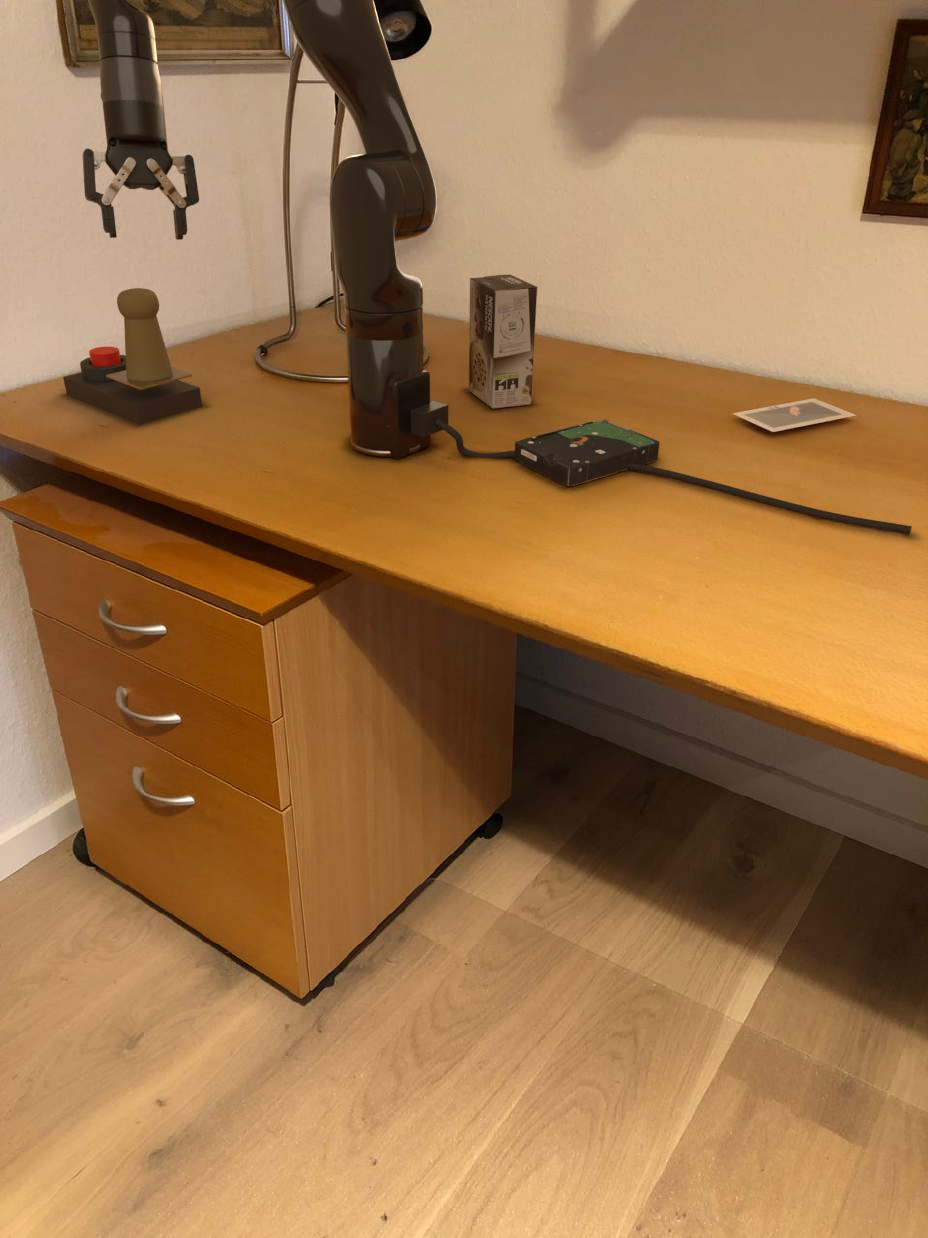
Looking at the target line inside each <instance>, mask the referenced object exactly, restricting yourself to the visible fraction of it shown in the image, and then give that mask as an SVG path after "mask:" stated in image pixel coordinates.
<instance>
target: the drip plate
mask: <svg viewBox="0 0 928 1238" xmlns="http://www.w3.org/2000/svg"><path fill="white" fill-rule="evenodd" d="M171 368H172V371H173V373H172V375H170V376H169V377H166V378H163V379H158V380H151V381H138V380H132V379H129V378H128V377H127V375H126V370H125V371H121V372H117V373H113V374H109V375H106V377H107V378H110V379H113V380H115V381H118V382H121V383H123V384H126V385H129V386H131V387H134V388H137V389H140V390H142V389H146V388H150V387H153V386H157V385H161V384H165V383H168V382H172V381H176V380H179V381H180V380H183V379H187V378H190V377H192V376H193V375H192V373H189V372H187V371H185V370H181V369H177V368H175V367H172V366H171Z"/></svg>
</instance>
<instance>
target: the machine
mask: <svg viewBox="0 0 928 1238" xmlns="http://www.w3.org/2000/svg"><path fill="white" fill-rule="evenodd" d="M120 358H121V363H119V364H116V365H112V366H93V365H91V360H90V357H86V358H84V359H83V360H80V362H79V366H80V371H81V372H76V373H73V374H68V375H64V376H62V380H63V383H64V388H65V393H66V396H68V397H71V398H73V399H76V400H78V401H80V402H82V403H85V404H88V405H90V406H92V407H95V408H97V409H100V410H102V411H104V412H107V413H110V414H112V415H115V416H117V417H119V418H122V419H124V420H126V421H128V422H132V423H134V424H137V425H139V426H140V425H144V424H147V423H151V422H153V421H157V420H161V419H163V418H167V417H170V416H174V415H178V414H181V413H184V412H188V411H191V410H195V409H198V408H201V407H203V401H202V395H201V388H200V387H199V386H196V385H193V384H190V383H187V382H185V381H182V380H180V379H179V380H176V381H172V382H168V383H165V384H161V385H157V386H153V387H150V388H146V389H142V390H140V389H137V388H134V387H131V386H129V385H126V384H123V383H121V382H118V381H115V380H113V379H110V378H107V377H106V375H109V374H113V373H117V372H121V371H125V370H126V354H125V355H124V354H120Z"/></svg>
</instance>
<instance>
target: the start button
mask: <svg viewBox="0 0 928 1238" xmlns="http://www.w3.org/2000/svg"><path fill="white" fill-rule="evenodd" d="M88 355H89V358H90V360H91V365H93V366H112V365H116V364H119V363H121V358H120V355H121V353H120V348H118V347H115V346H97V347H94V348H91V349H89V351H88Z"/></svg>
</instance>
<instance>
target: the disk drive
mask: <svg viewBox="0 0 928 1238" xmlns="http://www.w3.org/2000/svg"><path fill="white" fill-rule="evenodd" d="M660 443H661V442H660V441H659V440H657V439H654V438H651V437H649V436H648V435H644V434H642V433H640V432H637V431H636V430H633V429H625V428H624V427H622V426H618V425H617V424H613V423H611V422H610V421H609V420H607V419H604V420H596V421H587V422H584V423H581V424H577V425H574V426H569V427H565V428H561V429H558V430H553V431H550V432H547V433H542V434H539V435H535V436H529V437H526V438H523V439H520V440H516V441H515V442H514V451H515V456H514V458H513V459H514V460H515V461H518V463H520V464H522V465H523V466H525V467H527V468H530V469H532V470H533V471H536V472H537V473H539V474H542V475H543V476H545V477H547V478H549V479H551V480H553V481H555V482H557V483H559V484H562V485H564V486H566V487H570V486H572V487H574V486H576V485H580V484H581V485H582V484H585V483H589V482H591V481H595V480H597V479H601V478H605V477H607V476H610V475H614V474H616V473H619V472H625V471H627V470H628V469H627V465H628V464H629V463H636V464H641V465H647V464H650V463H653V462H654V461H657V460H658V459H659V452H660Z"/></svg>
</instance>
